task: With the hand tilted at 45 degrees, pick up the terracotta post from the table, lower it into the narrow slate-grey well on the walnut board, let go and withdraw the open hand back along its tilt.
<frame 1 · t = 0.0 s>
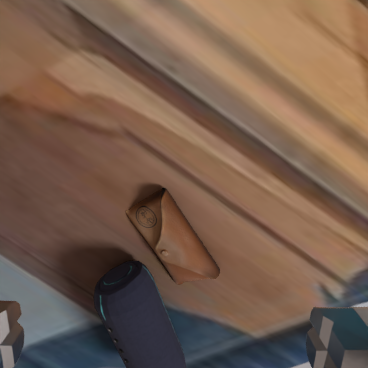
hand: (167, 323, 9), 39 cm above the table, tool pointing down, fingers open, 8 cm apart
portable speaker: (145, 307, 59), on the table
sunglasses case: (173, 237, 54), on the table
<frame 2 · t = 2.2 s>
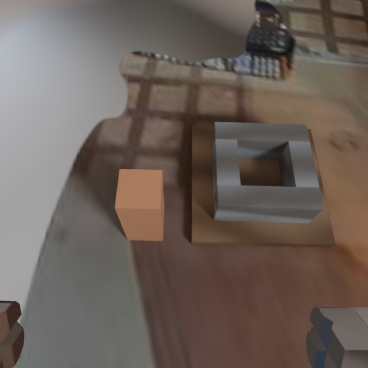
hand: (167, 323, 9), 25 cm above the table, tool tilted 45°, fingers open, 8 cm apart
well: (255, 183, 40), on the table
post: (146, 223, 37), on the table
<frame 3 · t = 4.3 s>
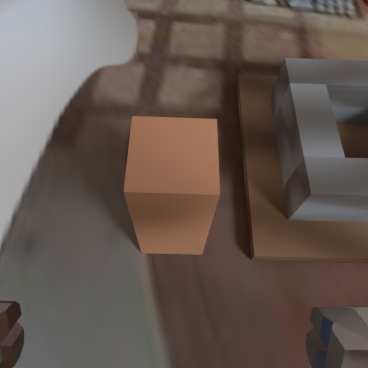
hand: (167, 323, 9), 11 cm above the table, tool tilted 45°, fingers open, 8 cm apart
well: (343, 161, 25), on the table
post: (172, 225, 22), on the table
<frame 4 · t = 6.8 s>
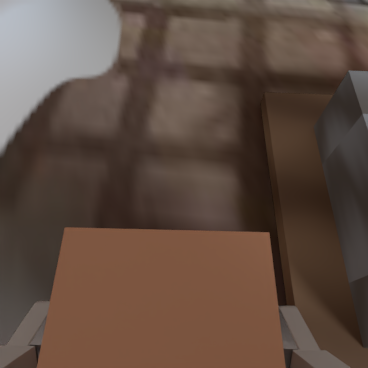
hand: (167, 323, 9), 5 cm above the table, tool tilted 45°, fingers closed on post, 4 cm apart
post: (167, 350, 13), on the table, touching gripper
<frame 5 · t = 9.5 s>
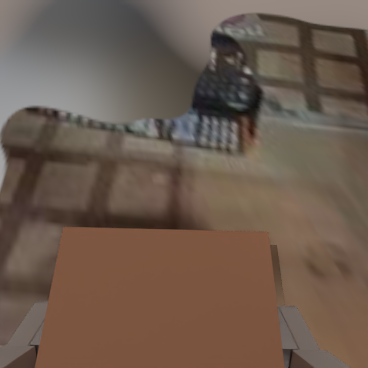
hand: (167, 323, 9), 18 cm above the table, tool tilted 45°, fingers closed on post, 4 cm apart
well: (182, 348, 24), on the table
post: (167, 350, 13), point 12 cm above the table, touching gripper
when the fingers open (8 cm above the table, at t = 12.6 s): post drops 2 cm, resting on well.
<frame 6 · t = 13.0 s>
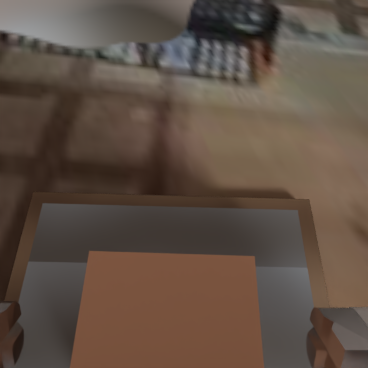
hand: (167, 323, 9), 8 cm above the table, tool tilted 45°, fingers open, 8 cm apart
well: (167, 351, 16), on the table
post: (169, 351, 15), point 1 cm above the table, touching well
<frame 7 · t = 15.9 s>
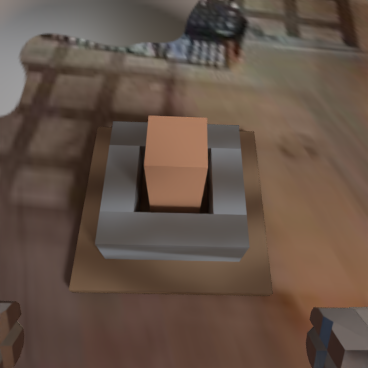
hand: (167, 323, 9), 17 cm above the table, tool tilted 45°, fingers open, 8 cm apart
well: (174, 204, 30), on the table
post: (175, 199, 29), point 1 cm above the table, touching well
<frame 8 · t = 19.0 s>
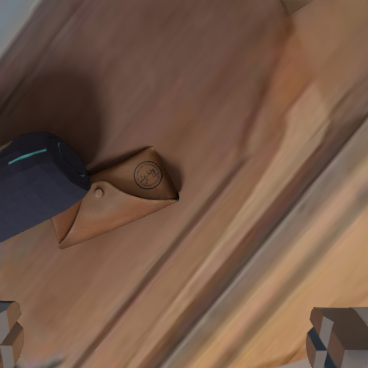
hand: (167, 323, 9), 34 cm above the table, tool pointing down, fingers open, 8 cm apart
portable speaker: (9, 189, 44), on the table
sunglasses case: (109, 194, 44), on the table
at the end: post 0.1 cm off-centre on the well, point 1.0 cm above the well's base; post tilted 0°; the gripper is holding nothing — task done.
